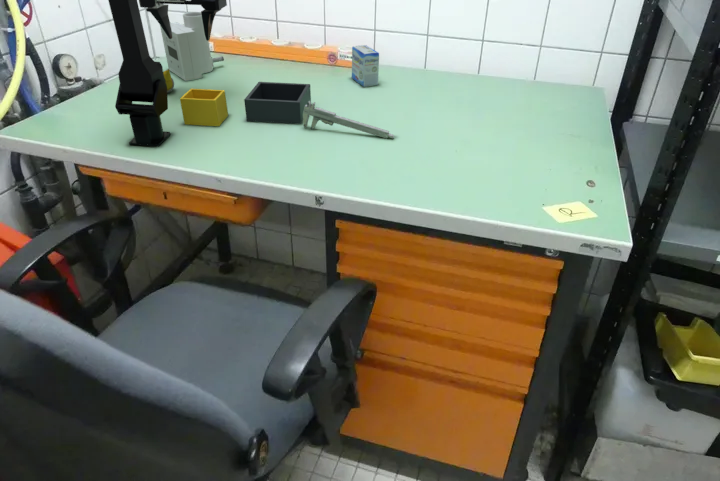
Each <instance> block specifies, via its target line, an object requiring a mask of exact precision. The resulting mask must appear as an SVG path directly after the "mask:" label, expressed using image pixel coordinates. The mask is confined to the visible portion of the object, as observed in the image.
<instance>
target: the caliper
mask: <svg viewBox="0 0 720 481" xmlns="http://www.w3.org/2000/svg"><path fill="white" fill-rule="evenodd" d="M315 105H316V101H314V102H313V103H312V100H311V101H309V102H308V105H305V107H304V111H303V121H302V124H303V127H304V128H305V129H306V128H307V127H308V123H309V119H310V117H312V120H311V124H310V125H311V127H310V130H314V129H315V127H316V126H317V124H318V122H319V121H321V122H322V123H323V124H324V125H329V126H333V125H334V124H336V125H339V126H343V127H347V128H350V129H353V130H357V131H360V132H364V133H367V134H370V135H373V136H377V137H379V138H382V139H388V138H390V139H394V137H395V135H394V134H393V133H391V132H390V131H389V130H388V129H384V128H381V127H377V126H374V125H370V124H367V123H364V122H360V121H358V120H354V119H350V118H347V117H344V116H340V115H337V113H336V112H333V111H331V110H327V109H324V108H320V107H317V106H316V107H315Z"/></svg>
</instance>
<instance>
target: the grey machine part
mask: <svg viewBox="0 0 720 481" xmlns="http://www.w3.org/2000/svg"><path fill="white" fill-rule="evenodd" d="M182 19H183V23H179V22H176V21H175V22H170V25H171V30H172V39H169V38H168V36H167V35H166V33H165V32H164V30H163V29H162V27H161V26H160V25H159V27H160V32H161V37H162V43H163V47H164V54H165V58H166V64H167V68H168V70H169V71H170V73H173V74H174V75H176V76H177V77H179V79H182V80H183V81H184V82H188V81H195V80H198V79H203V74H207V73H210V72H212V71H213V70H214V67H215V66H214V64H215V63H218V62H224V61H225V58H224V56H217V57H212V55H211V48H210V42H209V41H210V40H208V41H207V40H206V37H205V33H204V27H203V21H202V15H201V11H189V12H184V13H182Z"/></svg>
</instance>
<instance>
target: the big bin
mask: <svg viewBox="0 0 720 481" xmlns="http://www.w3.org/2000/svg"><path fill="white" fill-rule="evenodd" d="M311 94H312V92H311V84H310V83H295V82H291V83H290V82H272V81H258V82H257V83H256V85H254V87H253V88H252V90H251V91H249V92H248V94H247V95H246V97H245V98H244V99H243V102H244V112H245V118H246V122H254V123H255V122H256V123H275V124H290V125H291V124H294V125H301V124H303V111H304V107H305V105H308V102H309V101H311V102H312V95H311Z"/></svg>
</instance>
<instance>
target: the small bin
mask: <svg viewBox="0 0 720 481" xmlns="http://www.w3.org/2000/svg"><path fill="white" fill-rule="evenodd" d="M226 96H227V95H226V90H224V89H208V88H189V89H188V91H186V92H185V93H184V94H183V95H182V96H181V97H180V98H179V102H180V107H181V113H182V118H183V123H184V126H185V125H187V126H205V127H220V126H221V125H222V124H223V122H224V121H225V120H226V119H227V117H228V116H229V110H228V103H227V97H226Z"/></svg>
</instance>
